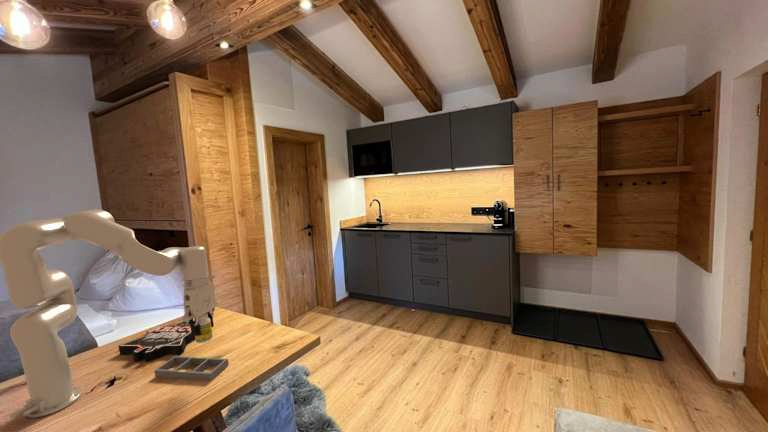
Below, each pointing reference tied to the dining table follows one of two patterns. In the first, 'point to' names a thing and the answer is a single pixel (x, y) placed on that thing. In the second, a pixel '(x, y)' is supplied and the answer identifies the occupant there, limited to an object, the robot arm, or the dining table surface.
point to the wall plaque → (159, 342)
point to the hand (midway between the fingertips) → (203, 330)
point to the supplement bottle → (204, 329)
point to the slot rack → (196, 373)
